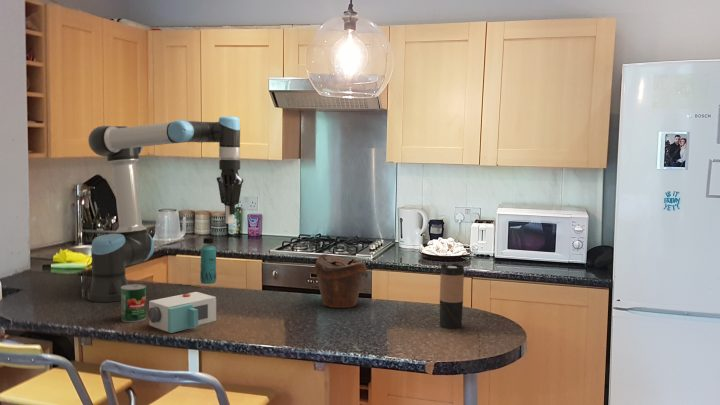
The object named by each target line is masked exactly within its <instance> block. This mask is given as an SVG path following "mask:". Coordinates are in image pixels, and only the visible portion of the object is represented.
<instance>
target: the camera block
mask: <svg viewBox="0 0 720 405" xmlns="http://www.w3.org/2000/svg"><path fill="white" fill-rule="evenodd" d="M186 304H192V308H195V309H198V326H201V325H204V324H208V323H209V324H210V323H213V322H216V321H217V296H214V295H210V294H206V293H202V292H199V291H193V292H188V293H183V294H178V295H173V296H167V297H163V298H162V297H161V298H158V299H152V300H149V301H148V306H149V308H148V313H147V314H148V319H149V326H150V327H152V328H156V329H157V330H161V331H164V332H167V333H169V332H168V308H172V307H177V306H182V305H186Z"/></svg>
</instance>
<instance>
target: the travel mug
mask: <svg viewBox="0 0 720 405" xmlns="http://www.w3.org/2000/svg"><path fill="white" fill-rule="evenodd" d="M464 270H465V267H464V265H461V264H459V263H458V264H456V263H452V264H450V265H447V264H441V265H440V278H439V279H440V283H439V326H440V327H441V328H445V329H459V328H461V327H462V323H463V309H464V308H463V307H464V283H465V282H464V281H465V280H464V279H465V278H464V276H465V275H464V274H465V272H464Z"/></svg>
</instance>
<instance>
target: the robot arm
mask: <svg viewBox="0 0 720 405" xmlns="http://www.w3.org/2000/svg"><path fill="white" fill-rule="evenodd" d="M240 121H241V120H240V118H239V117H238V116H220V117H219V118H218V121H197V120H195V121H193V120H185V119H179V120H174V121H171V122H163V123H155V124H153V123H152V124H145V125H135V126H129V127H128V126H125V125H124V126H123V125H122V126H117V125H115V126H113V125H101V126H96V127H95V128H93V129H92V131H91V132H90V133H89V135H88V138H87V140H88V146H89V148H90V150H91V151H92V153H94V154H95V155H98V156H101V157H105V158H107V159H106V160H107V163H108V164H109V165H111V168H112V175H113V176H112V177H113V183H114V184H113V185H114V191H115V192H114V193H115V200H116V211H117V219H118V228H117V230H116V231H115V233H108V234H102V235H99V236H96V237H95V238H93V240H92V242H91V249H90V252H91V272H92V278H91V282H90V284H89V288H88V291H87V300H89V301H90V302H96V303H111V302H118V301H120V302H121V287H122V286H124V285H129V283H128V280H127V277H126V267H127V266H131V265H136V264H141V263H143V262H146V261H148V260H149V259H150V258H151V257H152V256H153V254H154V252H155V240H154V239H153V238H154V237H152V236H151V234H150V233H148V230H147V227H146V226H145V225H143V221H142V220H143V219H142V212H141V204H140V201H141V200H140V193H139V184H138V183H139V182H138V177H137V166H136V165H137V163H138V162H139V161H140V158H139V156H140V154H141V153H142V150H143V148H145V147H154V146H159V145H160V146H162V145H170V144H171V145H172V144H181V143H200V144H203V143H216V144H217V143H218V158H219V161H218V164H219V168H218V169H219V170H221V173H220V176H218V177H216V182H217V184H218V190H219V197H220V198H219V199H220V203H221V204H223V205H224V208H225V209H224V213H225V214H224V215H225V224H227V225H228V224H229V225H230V224H235V212H236V210H235V209H236V208H235V206H237V205H239V204H240V199H241V192H242V187H243V186H242V185H243V183H244V179H243V178H241V177H240V174H239V171H240V170H241V160H240V158H241V122H240Z"/></svg>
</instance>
